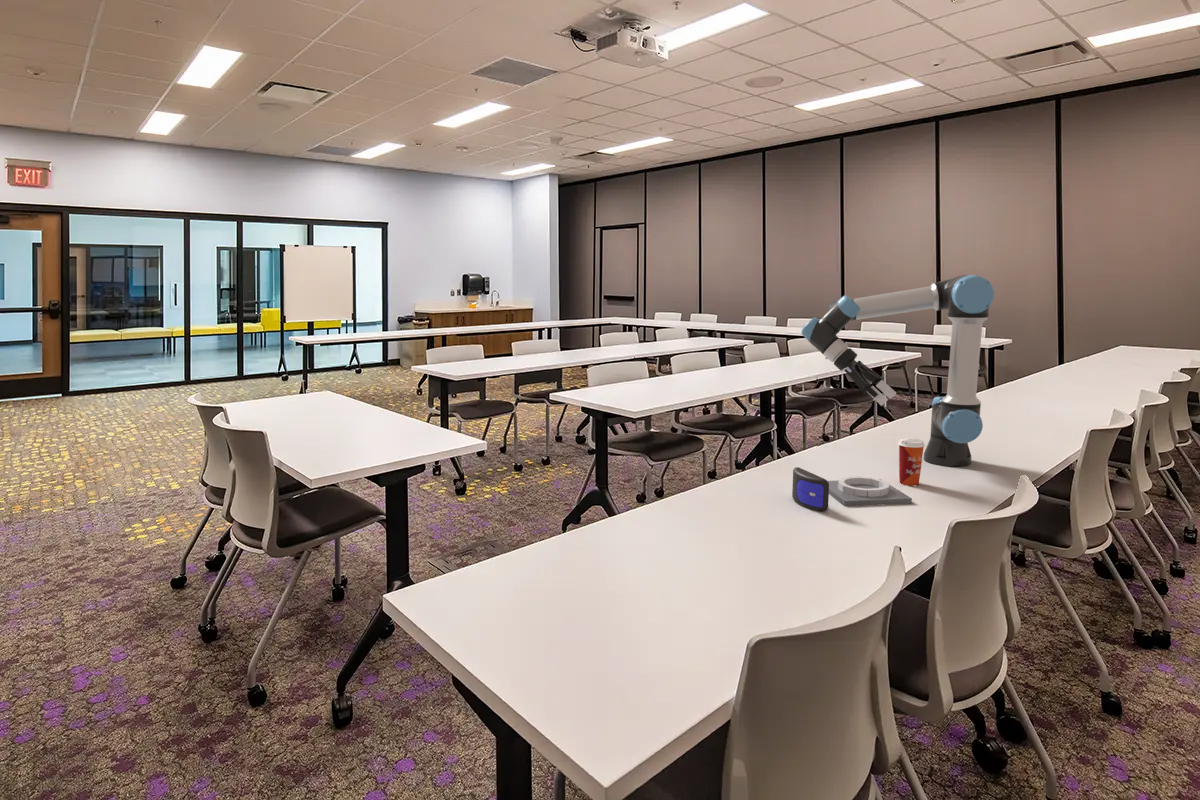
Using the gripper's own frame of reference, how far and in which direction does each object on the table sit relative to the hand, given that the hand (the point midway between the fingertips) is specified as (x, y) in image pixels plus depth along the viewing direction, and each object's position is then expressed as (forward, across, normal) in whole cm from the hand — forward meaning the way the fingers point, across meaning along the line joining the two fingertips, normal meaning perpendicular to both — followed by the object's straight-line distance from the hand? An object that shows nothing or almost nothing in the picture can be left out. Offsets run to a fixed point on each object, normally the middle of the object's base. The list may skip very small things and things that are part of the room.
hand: (889, 399), depth 228 cm
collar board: (+15, +27, -19) cm, 37 cm away
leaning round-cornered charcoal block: (+7, +44, -27) cm, 52 cm away
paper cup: (+23, +8, -13) cm, 28 cm away
